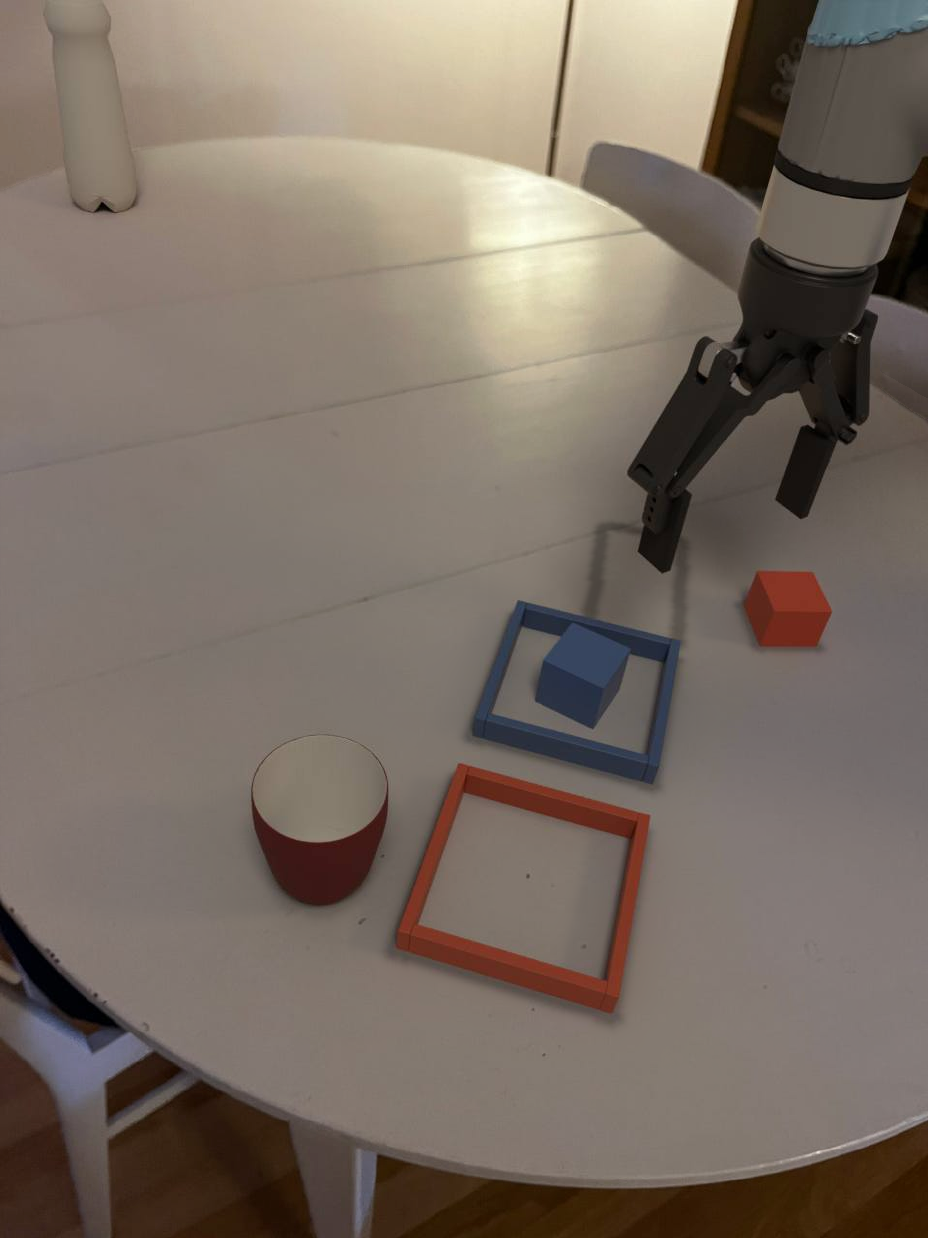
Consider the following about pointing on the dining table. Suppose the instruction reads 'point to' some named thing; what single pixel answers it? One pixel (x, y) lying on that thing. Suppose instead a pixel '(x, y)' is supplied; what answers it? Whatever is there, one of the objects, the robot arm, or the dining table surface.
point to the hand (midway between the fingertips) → (724, 534)
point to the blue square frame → (567, 744)
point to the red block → (787, 609)
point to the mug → (320, 815)
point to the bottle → (90, 106)
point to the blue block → (582, 675)
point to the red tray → (504, 962)
